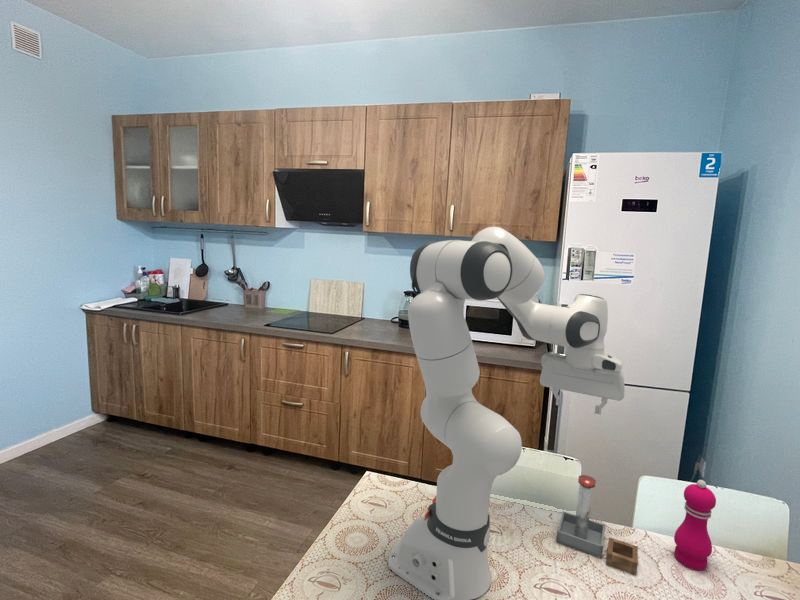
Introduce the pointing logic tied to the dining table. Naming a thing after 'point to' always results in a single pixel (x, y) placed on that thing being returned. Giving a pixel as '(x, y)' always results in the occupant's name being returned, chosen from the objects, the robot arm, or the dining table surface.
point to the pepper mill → (695, 527)
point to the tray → (587, 546)
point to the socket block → (622, 556)
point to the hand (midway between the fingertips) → (577, 409)
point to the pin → (584, 506)
